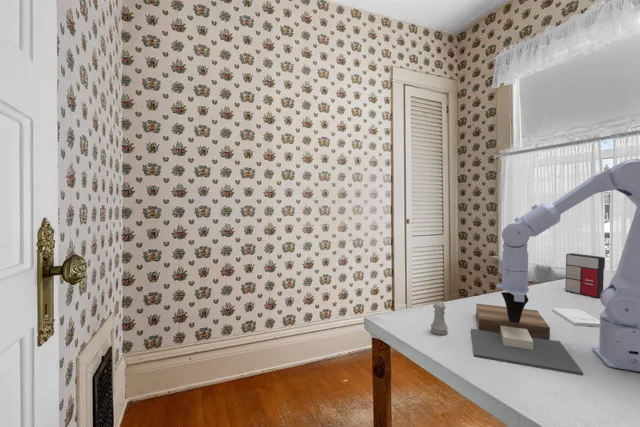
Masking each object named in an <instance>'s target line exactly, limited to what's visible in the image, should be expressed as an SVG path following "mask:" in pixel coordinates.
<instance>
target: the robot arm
mask: <svg viewBox="0 0 640 427" xmlns="http://www.w3.org/2000/svg"><path fill="white" fill-rule="evenodd" d="M610 191H617V192H619V193H621V194H623V195H624V196H626V197H627V198H628V199H629V200H630V201H631V203H633V204H634V205H635V206H636V209H635V211H634V216H633V218H632V221H631V225H630V228H629V230H628V234H627V236H626V237H627V238H626V240H625V243H624V246H623V250H622V252H621V256H620V258H619V262H618V264H617V268H616V272H615V274H614V275H613V277H611V279H610V282H609V285H608V286H607V287H606V288H603V291H602V293H601V295H600V298H599V299H600V300H599V301H600V302H601V304H602V305H603V307H604V308H605V309H603V311H602V312H601V313H600V314H599V321H600V327H599V342H598V343H599V344H598V346H599V347H597V346H591V349H592V351H594V353H595V354H596V355H597V356H598V357H599V358H600V359H601V360H602V362H604V364H605V365H607V367H609V368H615V369H621V370H627V371H634V372H639V373H640V158H630V159H626V160H623V161H622V162H619V163H618V164H616V165H614V166H612V167H610V168H608V169H606V170H604V171H601V172H599V173H598V174H596V175H593V176H592V177H589V178H587V179H585V181H582V182H581V183H580V184H579V185H578V186H575V187H574V188H573V189H571V190H569V192H567V193H565V194H564V195H563V196H561V197H560V198H558V199H557V200H555V201H553V202H552V203H544V202H543V203H540V204H539V205H537V204H534V205H532V206H531V208H530V209H531V210H529V211H528V212H527V213H525V214H523V215H522V216H520V217H518V216H517V217H516V218H514V219H513V221H514V222H515V223H514V222H513V223H509V224H507V225H506V226H505V227H504V228H503V230H502V232H501V237H502V240H503V244H502V249H503V251H502V252H501V253H502V255H501V257H502V260H501V268H502V269H501V284H500V283H499V284H496V289H499V290H503V291H501V292H500V294H501V295H502V297H503V299H504V304H505V307H506V308H507V314H508V318H509V321H510V322H514V323H519V321H520V318H521V314H522V311H523V309H525V306H526V304H527V303H528V302H529V298H528V295H527V293H528V292H529V291H530V290H529V289H530V288H529V286H528V284H529V252H528V242H529V240H530V238H531V237H537V236H539V235H540V234H542V233H544V232H545V231H546V230H548V229H551V227H554V226H555V225H556V224H558V223H560V221H561V216H562V214H563V213H565V212H566V211H568V210H570V209H572V208H574V207H575V206H577V205H578V204H580V203H582V202H583V201H585V200H587V199H589V198H591V197H592V196H594V195H596V194H599V193H604V192H605V193H606V192H610Z"/></svg>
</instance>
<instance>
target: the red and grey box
mask: <svg viewBox="0 0 640 427" xmlns="http://www.w3.org/2000/svg"><path fill="white" fill-rule="evenodd" d="M565 257H566V259H565V289H564V290H565V291H566V292H569V293H572V294H577V295H581V296H585V297H586V296H587V297H590V298H596V299H600V295H601V293H602V291H603V290H604V280H605V279H604V277H605V276H604V272H605V267H606V258H605V256H595V255H590V254H580V253H573V252H571V253H566V256H565Z"/></svg>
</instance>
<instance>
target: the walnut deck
mask: <svg viewBox="0 0 640 427" xmlns="http://www.w3.org/2000/svg"><path fill="white" fill-rule="evenodd" d="M475 307H476V309H475V310H476V311H475V315H476V322H477V325H478V326H477V328H478V330H484V331H491V332H498V333H500V326H508V327H515V328H522V329H527V330H528V332H529V334H530V336H531V337H533V338H541V339H548V340H551V327H550V326H549V324H548V323H547V322H546V320H545V319H544V317H543V316H542V315H541V314H540V312H539V311H538V310H537V309H536V310H535V309H527V308H523V311H522V314H521V318H520V321H519V323H514V322H510V321H509V318H508V314H507V308H506V306H501V305H491V304H483V303H482V304H481V303H476V306H475Z"/></svg>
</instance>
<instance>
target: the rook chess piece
mask: <svg viewBox="0 0 640 427" xmlns="http://www.w3.org/2000/svg"><path fill="white" fill-rule="evenodd" d="M432 307H433V309H434V310H433V313H434V318H433V321H432V323H431V324H430V331H431V333H432V334H435V335H437V336H446V335H447V334H448V333H449V331H448V326H447V324H446V321H445V313H446V312H445V310H446V308H447V306H446V305H445V303H444V302H443V301H434V304H433V305H432Z"/></svg>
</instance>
